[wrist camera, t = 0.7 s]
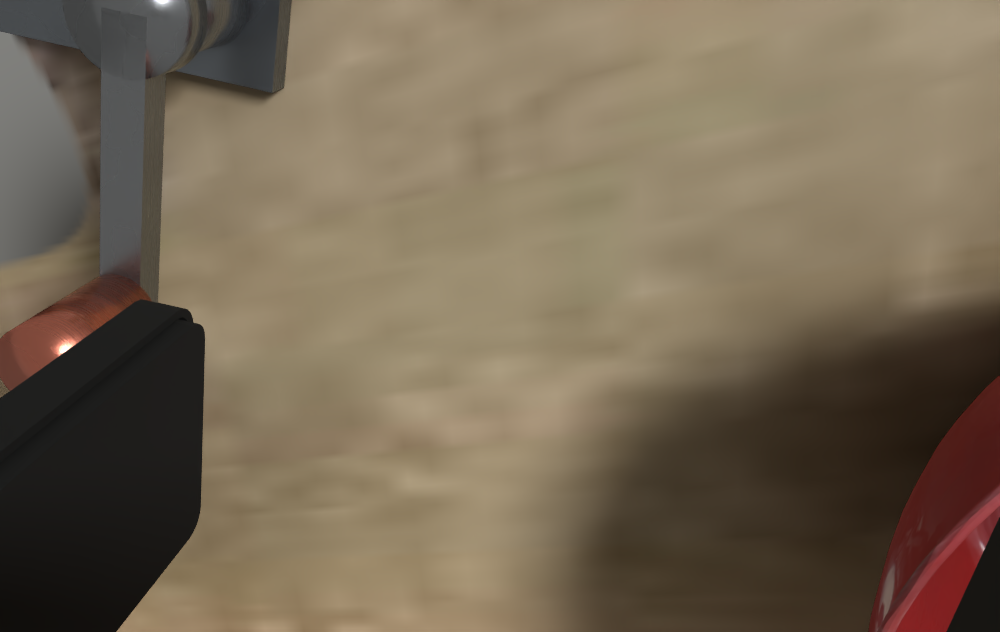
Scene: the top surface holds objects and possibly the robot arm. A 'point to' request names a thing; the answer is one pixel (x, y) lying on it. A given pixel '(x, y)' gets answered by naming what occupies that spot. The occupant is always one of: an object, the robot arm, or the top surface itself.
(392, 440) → the top surface
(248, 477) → the top surface
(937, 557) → the mixing bowl
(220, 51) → the bed
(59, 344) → the lever
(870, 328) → the top surface
